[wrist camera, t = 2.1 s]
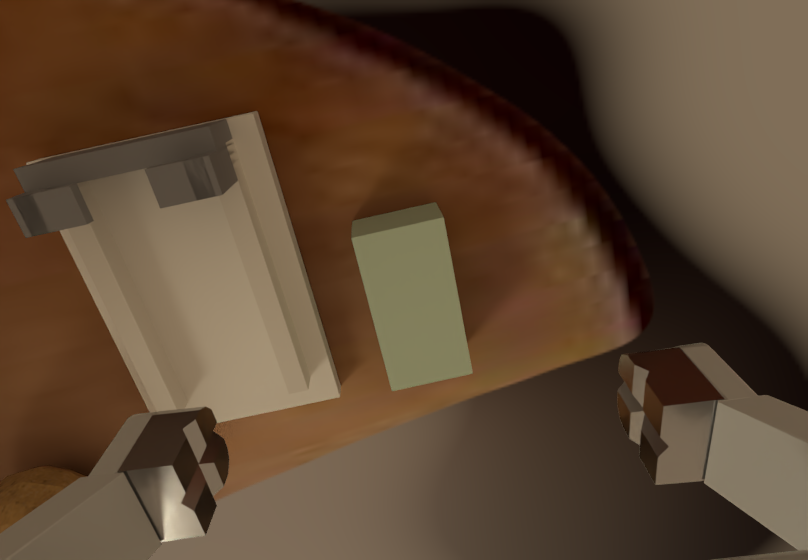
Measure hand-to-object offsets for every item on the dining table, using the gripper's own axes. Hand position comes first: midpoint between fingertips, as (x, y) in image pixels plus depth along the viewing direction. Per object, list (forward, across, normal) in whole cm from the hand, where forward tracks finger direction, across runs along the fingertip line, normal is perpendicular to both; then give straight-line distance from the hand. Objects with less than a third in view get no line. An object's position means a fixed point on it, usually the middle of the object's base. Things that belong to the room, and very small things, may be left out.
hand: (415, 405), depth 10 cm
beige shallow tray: (+20, -13, -6) cm, 24 cm away
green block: (+21, -1, -8) cm, 22 cm away
